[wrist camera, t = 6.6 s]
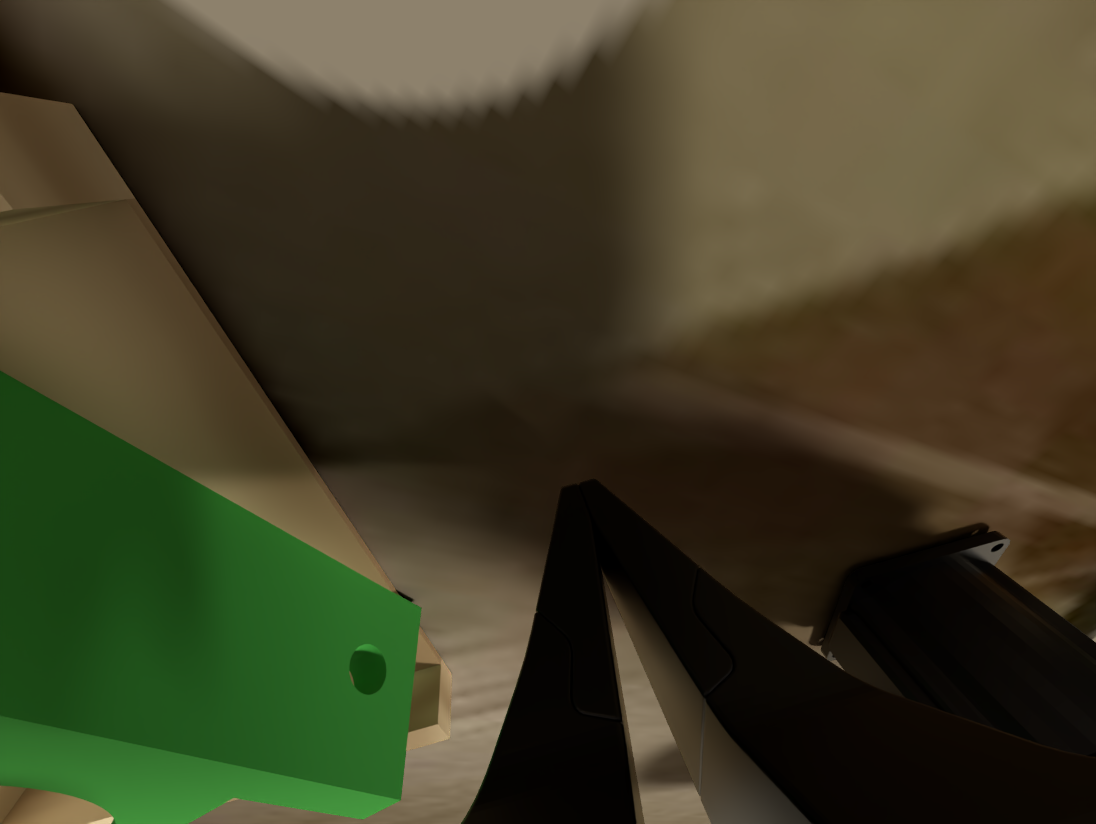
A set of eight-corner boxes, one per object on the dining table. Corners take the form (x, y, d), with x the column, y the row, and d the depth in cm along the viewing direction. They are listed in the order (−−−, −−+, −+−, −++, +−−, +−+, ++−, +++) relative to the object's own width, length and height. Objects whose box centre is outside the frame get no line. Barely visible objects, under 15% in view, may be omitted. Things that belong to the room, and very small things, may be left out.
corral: (72, 103, 6) (-95, 77, 4) (451, 674, 15) (449, 738, 13) (-1177, 359, 5) (-2019, 458, 3) (34, 790, 14) (-24, 874, 13)
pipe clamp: (-164, 451, 7) (-874, 763, 3) (-51, 333, 7) (-770, 552, 3) (335, 661, 13) (278, 870, 9) (423, 608, 12) (401, 807, 8)
